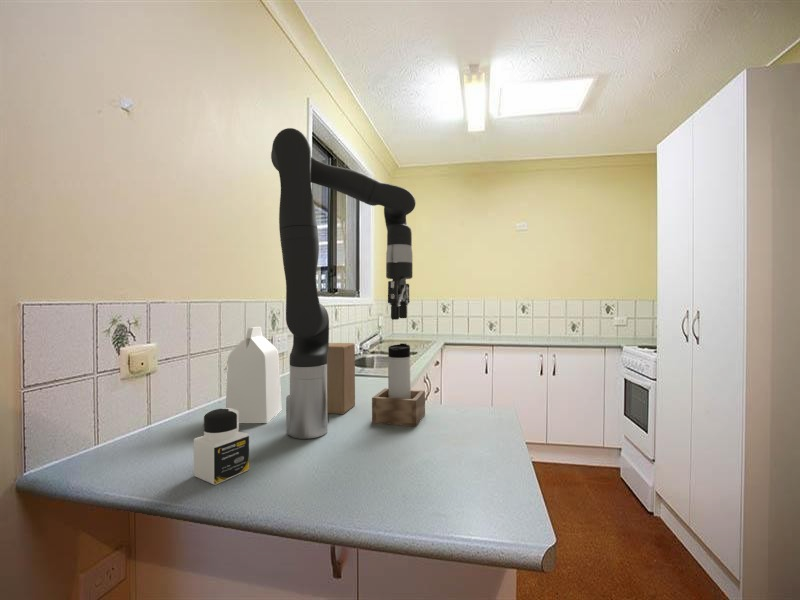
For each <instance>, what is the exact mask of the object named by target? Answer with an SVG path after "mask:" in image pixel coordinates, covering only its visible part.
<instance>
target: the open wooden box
mask: <svg viewBox="0 0 800 600" xmlns="http://www.w3.org/2000/svg"><path fill="white" fill-rule="evenodd" d="M410 391H411V399H403V398H389V396H388V388H383V389H382V390H381V391H379V392H378V393H376V394H375V395H373V396H372V397H371V423H372V424H381V425H382V424H384V425H395V426H408V427H417V426H418V425H419V424H418V423H420V422H421V421H422V419H423V418H424V416H425V415H426V391H425V390H423V389H422V390H421V389H420V390H419V389H410ZM424 414H425V415H424ZM423 415H424V416H423ZM422 417H423V418H422ZM420 420H421V421H420Z"/></svg>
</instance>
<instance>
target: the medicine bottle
mask: <svg viewBox="0 0 800 600" xmlns="http://www.w3.org/2000/svg"><path fill="white" fill-rule="evenodd" d="M239 430H240V424H239V412H238V411H237V410H235V409H232V408H226V407H223V408H215V409H213V410H211V411H209V412H207V413H205V414H204V416H203V435H201V436H198V437H195V438H193V477H196V478H198V479H200V480H203V481H204V482H207V483H208V484H211V485H214V486H217V485H219V484H221V483H224V482H225V481H227V480H230V479H232V478H234V477H237V476H239V475H241V474H244V473H245V472H248V471H249V470H250V435H249V434H248V433H245V432H242V431H239Z"/></svg>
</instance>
